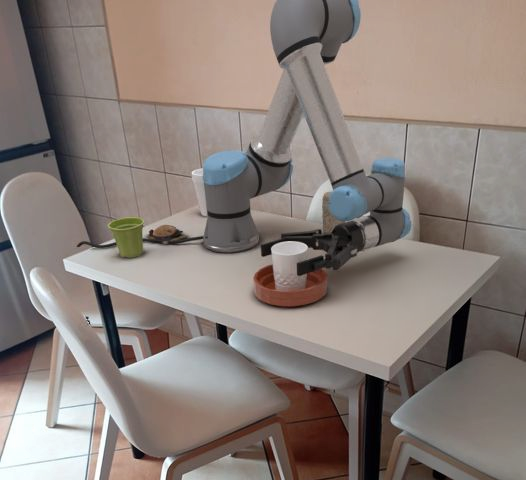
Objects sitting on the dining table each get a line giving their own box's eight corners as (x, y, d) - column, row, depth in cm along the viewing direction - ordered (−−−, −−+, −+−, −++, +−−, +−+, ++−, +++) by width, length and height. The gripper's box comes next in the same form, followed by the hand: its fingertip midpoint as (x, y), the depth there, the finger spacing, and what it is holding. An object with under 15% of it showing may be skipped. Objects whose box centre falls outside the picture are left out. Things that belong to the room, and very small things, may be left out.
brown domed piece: (189, 238, 163) (188, 225, 161) (163, 246, 158) (162, 233, 156) (170, 229, 170) (168, 217, 168) (145, 236, 166) (143, 224, 164)
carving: (345, 232, 160) (346, 189, 154) (345, 241, 154) (346, 197, 147) (323, 232, 161) (323, 189, 155) (321, 241, 155) (321, 197, 148)
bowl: (242, 301, 126) (240, 285, 124) (273, 273, 138) (272, 258, 136) (310, 313, 119) (310, 296, 117) (337, 283, 132) (337, 266, 130)
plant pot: (119, 263, 149) (112, 231, 144) (110, 252, 156) (103, 221, 152) (153, 255, 152) (148, 224, 148) (143, 245, 160) (137, 214, 155)
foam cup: (221, 218, 176) (217, 175, 169) (192, 217, 178) (187, 175, 171) (229, 208, 184) (225, 167, 177) (201, 208, 186) (197, 167, 179)
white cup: (313, 293, 126) (313, 251, 121) (279, 300, 124) (277, 257, 119) (301, 280, 133) (300, 239, 127) (268, 286, 131) (266, 244, 126)
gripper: (391, 268, 126) (314, 295, 116) (320, 237, 144) (249, 258, 134) (393, 235, 122) (314, 260, 112) (320, 208, 140) (247, 228, 130)
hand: (278, 259), depth 123 cm, fingers open, 13 cm apart
